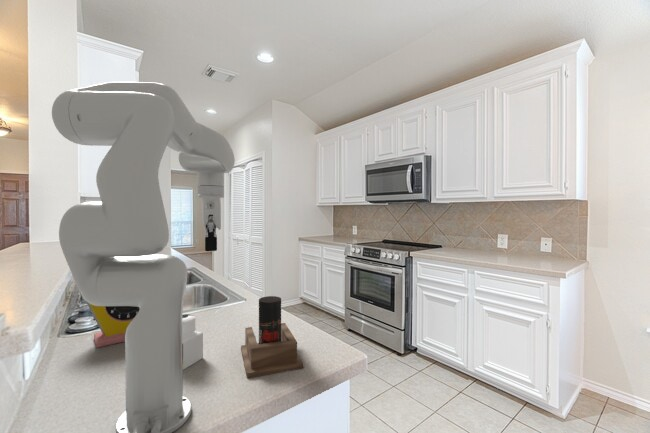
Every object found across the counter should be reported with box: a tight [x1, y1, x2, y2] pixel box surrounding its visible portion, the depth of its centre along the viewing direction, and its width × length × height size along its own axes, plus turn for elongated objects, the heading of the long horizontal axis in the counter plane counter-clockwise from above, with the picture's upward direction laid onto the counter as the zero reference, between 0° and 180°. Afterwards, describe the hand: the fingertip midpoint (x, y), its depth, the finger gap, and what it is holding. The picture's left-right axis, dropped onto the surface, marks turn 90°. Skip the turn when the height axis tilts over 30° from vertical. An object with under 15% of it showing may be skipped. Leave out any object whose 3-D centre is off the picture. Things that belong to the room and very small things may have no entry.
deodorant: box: [258, 295, 282, 344], centre depth 83 cm, size 6×6×15 cm
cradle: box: [240, 322, 304, 379], centre depth 84 cm, size 16×14×6 cm
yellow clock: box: [84, 299, 140, 349], centre depth 98 cm, size 22×9×22 cm, turn 130°
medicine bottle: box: [182, 313, 204, 371], centre depth 82 cm, size 7×7×12 cm
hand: (211, 248), depth 94 cm, fingers open, 9 cm apart
